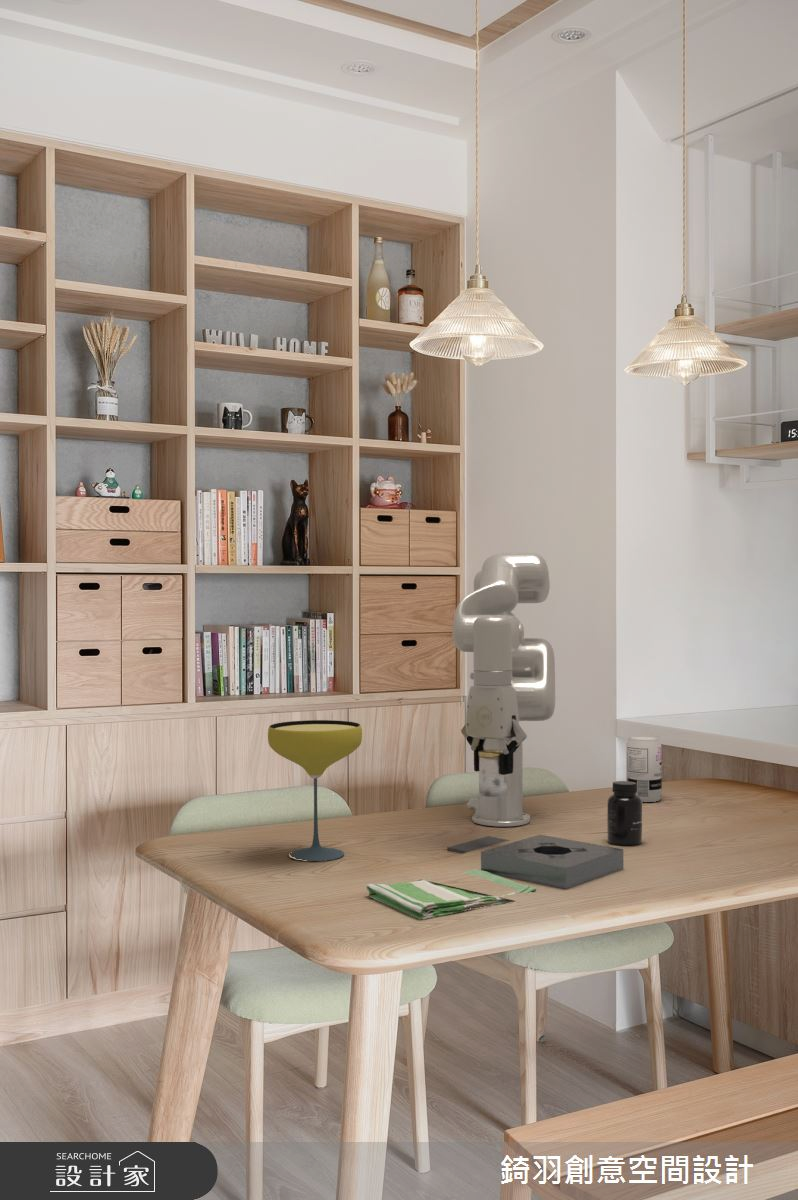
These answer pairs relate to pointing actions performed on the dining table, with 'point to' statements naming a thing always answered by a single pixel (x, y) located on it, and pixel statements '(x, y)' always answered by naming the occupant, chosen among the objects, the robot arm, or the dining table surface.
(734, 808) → the dining table surface
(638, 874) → the dining table surface
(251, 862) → the dining table surface
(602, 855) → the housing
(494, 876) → the dish towel
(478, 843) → the mat
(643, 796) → the supplement can
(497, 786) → the can with gold end
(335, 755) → the cocktail glass
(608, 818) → the supplement bottle
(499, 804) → the robot arm
